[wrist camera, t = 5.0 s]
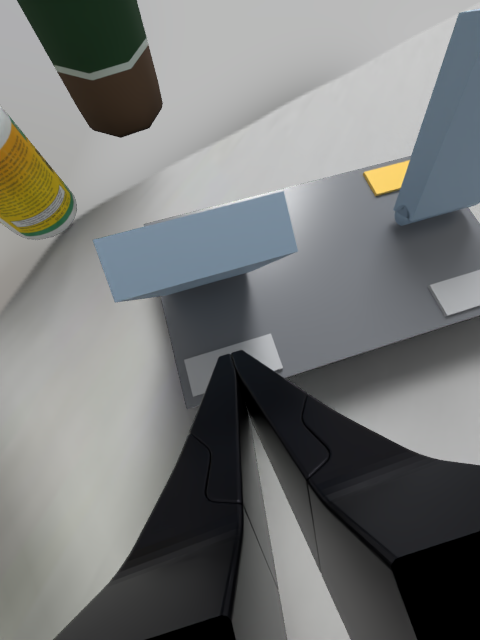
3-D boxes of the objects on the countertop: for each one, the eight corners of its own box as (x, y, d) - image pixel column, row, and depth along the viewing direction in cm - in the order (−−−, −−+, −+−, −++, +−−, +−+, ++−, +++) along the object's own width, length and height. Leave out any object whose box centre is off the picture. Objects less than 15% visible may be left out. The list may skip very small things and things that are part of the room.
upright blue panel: (479, 210, 16) (613, -16, 9) (407, 230, 15) (497, 8, 9) (457, 200, 17) (566, -10, 10) (390, 219, 16) (459, 12, 10)
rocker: (248, 272, 15) (298, 251, 7) (168, 295, 15) (114, 302, 6) (241, 246, 15) (283, 191, 7) (160, 268, 15) (92, 240, 6)
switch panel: (484, 314, 18) (535, 296, 15) (196, 406, 16) (185, 409, 13) (403, 184, 21) (431, 148, 18) (158, 249, 19) (142, 222, 16)
